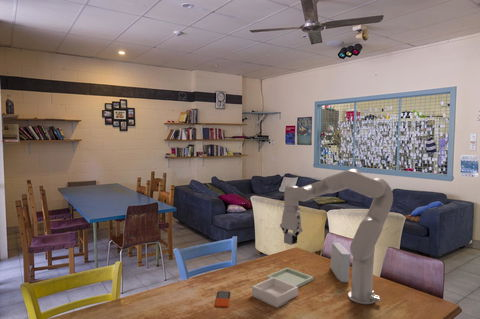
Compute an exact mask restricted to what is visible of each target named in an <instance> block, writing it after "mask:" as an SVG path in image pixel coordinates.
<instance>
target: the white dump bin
mask: <svg viewBox="0 0 480 319" xmlns="http://www.w3.org/2000/svg"><path fill="white" fill-rule="evenodd" d="M251 296H252V297H253V298H256V299H257V300H260V301H261V302H263V303H266V304H267V305H270V306H272V307H274V308H276V309H279V308H281V307H282V306H284V305H285V304H288V303H289V302H290V301H291V300H292V299H294V298H296V297H298V296H299V288H298V287H297V286H294V285H292V284H289V283H287V282H284V281H282V280H280V279H277V278H275V277H272V278H270V279H267V278H266V279H265V280H263V281H260V282H259V283H256V284H254V285H252V287H251Z"/></svg>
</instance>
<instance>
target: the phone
mask: <svg viewBox="0 0 480 319" xmlns="http://www.w3.org/2000/svg"><path fill="white" fill-rule="evenodd" d="M230 299H231V291H224V290H220V291H217V293H216V298H215V302H214V308H227V309H228V308H229V307H230V306H229V305H230Z"/></svg>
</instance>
